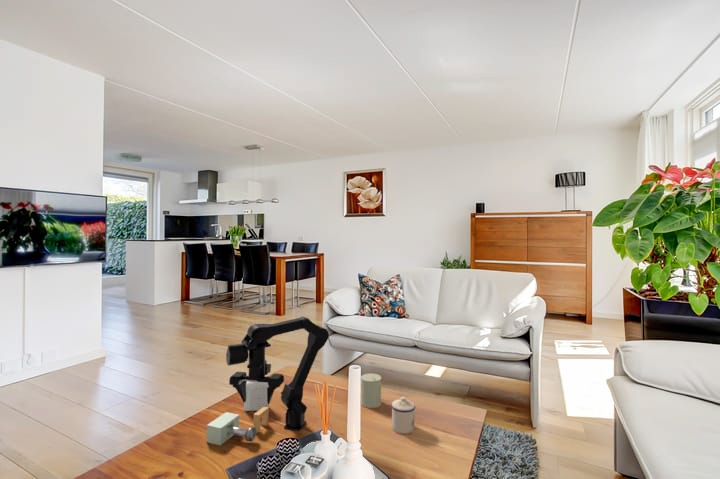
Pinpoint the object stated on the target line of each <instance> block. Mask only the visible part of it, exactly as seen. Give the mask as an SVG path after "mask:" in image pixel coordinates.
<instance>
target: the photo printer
mask: <svg viewBox="0 0 720 479" xmlns="http://www.w3.org/2000/svg"><path fill="white" fill-rule="evenodd" d="M268 387H269V386H268V383H266V382H249V381H247V383H246V402H243V411H245V412H249V411H250V412H253V411H256V412H257V411H259V410H260V409H261V408H263V407H268V410H269V409H270V403H269V404H268V402H267V388H268Z"/></svg>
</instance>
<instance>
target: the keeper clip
mask: <svg viewBox="0 0 720 479" xmlns="http://www.w3.org/2000/svg"><path fill="white" fill-rule="evenodd" d="M268 425H269V409H268V407H263V408H261V409H260V410H258V411H256V412H255V413H253V427H254V428H256V434H258V433H260V432H261V426H268Z"/></svg>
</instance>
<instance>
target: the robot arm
mask: <svg viewBox="0 0 720 479" xmlns="http://www.w3.org/2000/svg"><path fill="white" fill-rule="evenodd" d="M299 330H305V332H307V333H308V336H307V346H306V348H305V351H304V353H303V355H302V357H301V360H300V362H299V364H298V367H297V369H296V372H295V373H294V376H293V379H292V381H291V382H289V384H287V383H285V384H284V386H283V389H282V391H280V395H281V396H280V400H281V402H282V403H283V405H284V406H285V407H286V408H287V409H286V413H285V425H284V429H286V430H287V429H289V430H293V431H298V432H299V431H300V430H301V429H302V428H304V426H305V425H306V424H307V420H305V417H306V412H307V408H308V407H307V405H306V404H304V402H303V397H304V385H305V383H306V382H307V378H308V376H309V375H310V372H311V369H312V366H313V365H314V362H315V359H316V357H317V356H318V353H319V351H321V349H322V348H323V347H324V346H325V345H326V344H327V342H328V340H329V336H330V333H329V330H328V329H326V328H325V327H323V326H321V325H318V324H315V323H314V322H313V321H311V320H310V319H309V318H308V317H307V316H300V317H298V318H294V319H289V320H284V321H280V322H275V323H254V324H251V325H250V326H249V327H248V329H247V333H246V335H245V336H244V337H243V339H242V340H241V343H236V344H228V345H227V349H226V353H225V358H226V364H227V366H228V367H229V366H233V365H240V364H244V363H246V362H247V361H248V364H247V365H246V368H247V369H248V375H247V372H245V371H235V373H233V374H232V375H231V376H230V377H229V381H228V382H229V383H228V385H230V386H232V388H235V390H236V391H237V393H238V394H239V396H240V398H241V399H242V403H244V402H246V383H247V382H248V381H249V382H266V383H268V386H269V387H268V388H267V402H268V404H269V405H270V403H271V401H272V398H273V395H274V392H275V390H276V389H278V388H280V387H281V385H282V384H283V383H284V382H285V377H284V375H283V374H282V373H273V374H271V376H267V375H268V374H270V373H271V369H272V363H267V362H268V361H267V360H266V348H270V347H272V345H271V344H270V343H269V342H268V341H269V340H271V338H273V337H275V336H278V335H282V334H286V333H290V332H291V333H292V332H295V331H299Z"/></svg>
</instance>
